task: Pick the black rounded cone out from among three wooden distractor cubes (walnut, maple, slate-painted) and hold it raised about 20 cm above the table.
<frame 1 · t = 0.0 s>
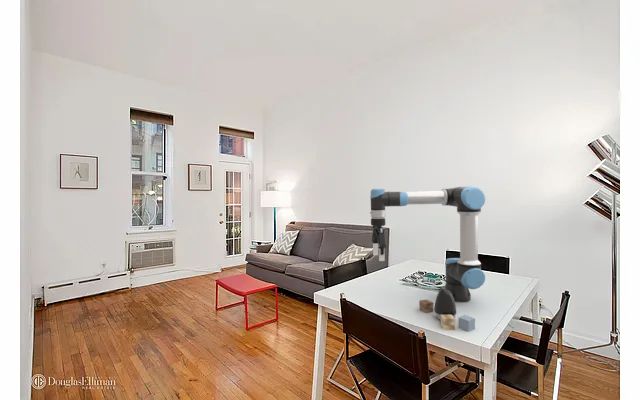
hand: (378, 258, 167), 28 cm above the table, fingers open, 13 cm apart
walnut cube: (426, 310, 166), on the table
maple cube: (447, 327, 147), on the table
slate cube: (466, 328, 145), on the table
black rounded cone: (445, 319, 156), on the table
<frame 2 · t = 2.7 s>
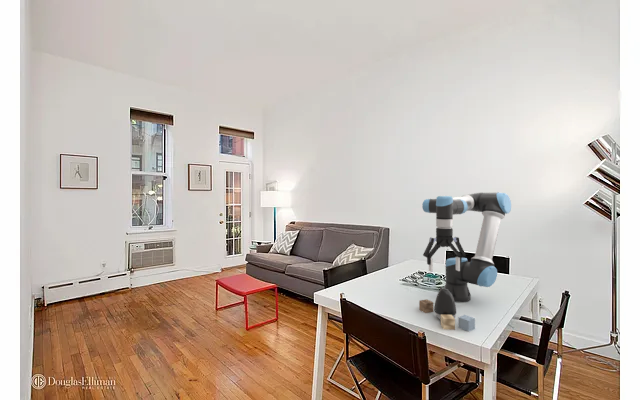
hand: (444, 270, 155), 24 cm above the table, fingers open, 13 cm apart
nothing on the table moved.
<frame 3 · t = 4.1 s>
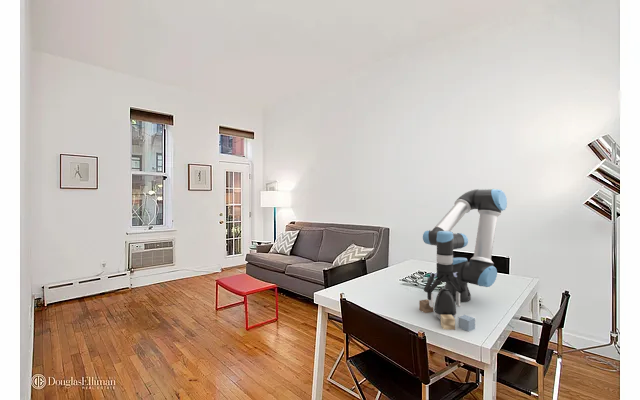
hand: (444, 305, 155), 7 cm above the table, fingers open, 13 cm apart
nothing on the table moved.
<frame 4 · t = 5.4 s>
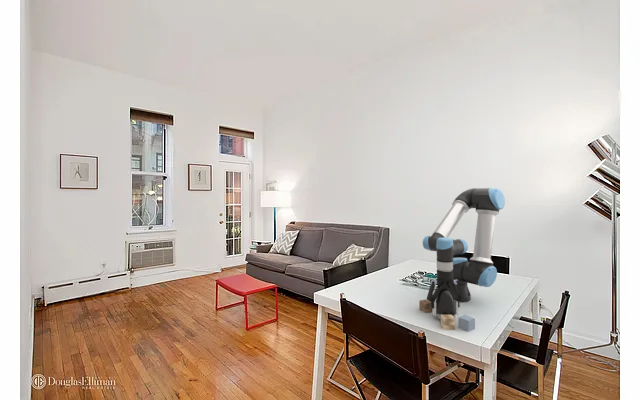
hand: (445, 314, 156), 2 cm above the table, fingers closed on black rounded cone, 10 cm apart
black rounded cone: (445, 319, 156), on the table, touching gripper
everything else where it was.
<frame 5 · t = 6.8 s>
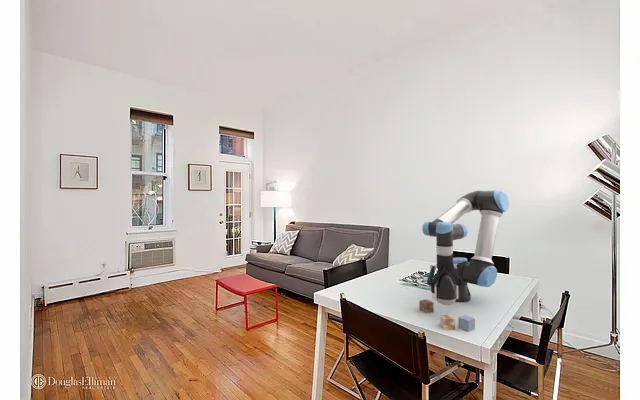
hand: (445, 298, 156), 10 cm above the table, fingers closed on black rounded cone, 10 cm apart
black rounded cone: (445, 303, 156), point 7 cm above the table, touching gripper
everything else where it was.
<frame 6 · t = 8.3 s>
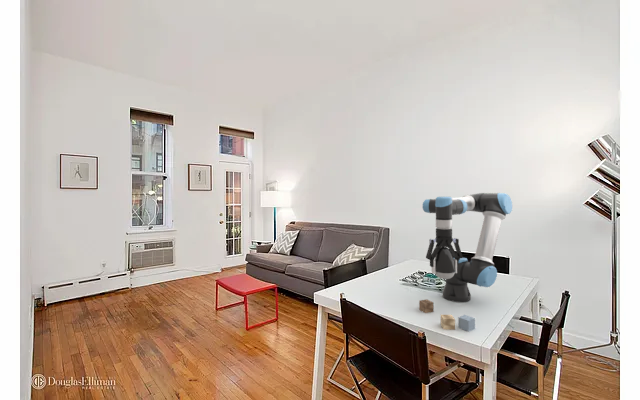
hand: (444, 272, 156), 23 cm above the table, fingers closed on black rounded cone, 10 cm apart
black rounded cone: (444, 277, 156), point 20 cm above the table, touching gripper
everything else where it was.
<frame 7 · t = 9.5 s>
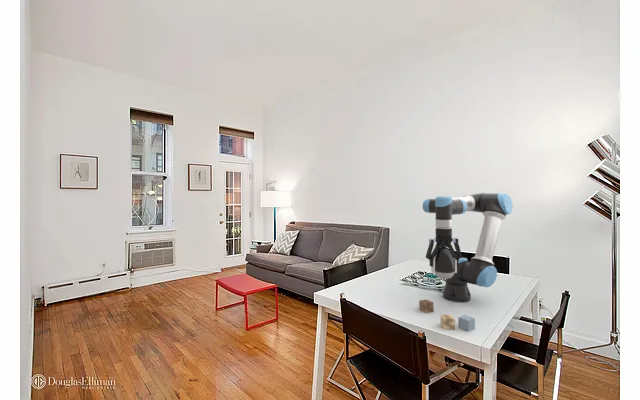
hand: (443, 272, 156), 23 cm above the table, fingers closed on black rounded cone, 10 cm apart
black rounded cone: (444, 277, 156), point 20 cm above the table, touching gripper
everything else where it was.
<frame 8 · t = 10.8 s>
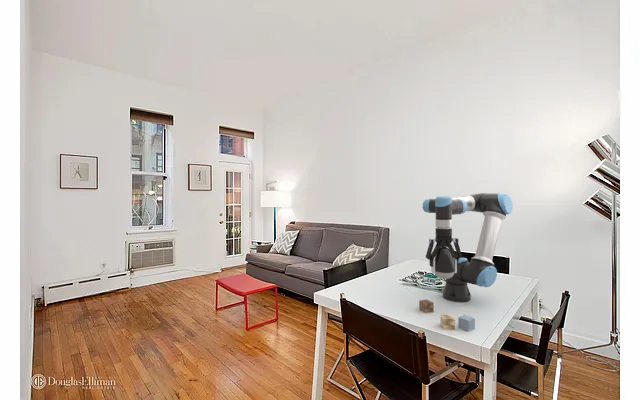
hand: (443, 272, 156), 23 cm above the table, fingers closed on black rounded cone, 10 cm apart
black rounded cone: (444, 277, 156), point 20 cm above the table, touching gripper
everything else where it was.
at the end: the gripper is holding black rounded cone; black rounded cone point 20.2 cm above the table; walnut cube moved 0.1 cm from its start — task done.
